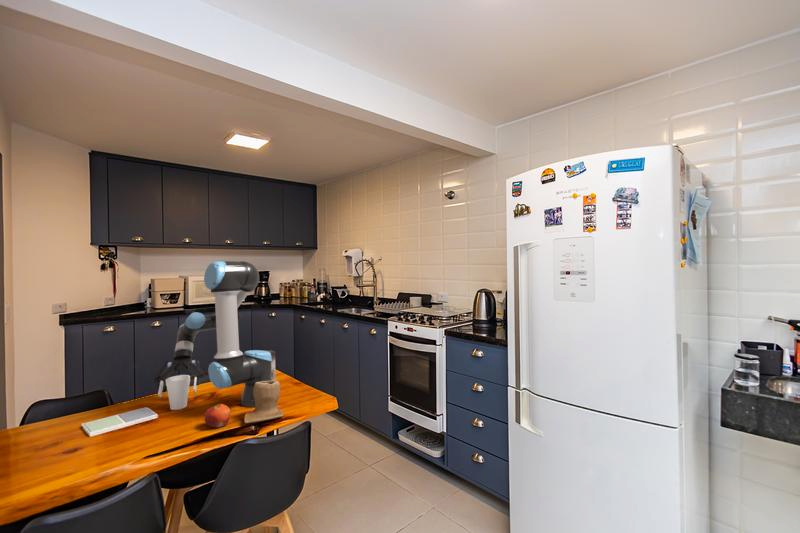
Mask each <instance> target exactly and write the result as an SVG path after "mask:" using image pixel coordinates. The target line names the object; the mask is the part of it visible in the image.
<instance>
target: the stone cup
mask: <svg viewBox="0 0 800 533" xmlns="http://www.w3.org/2000/svg"><path fill="white" fill-rule="evenodd" d="M280 394H281V383H280V382H279V381H278V380H275V381H261V382H256V383H255V385H254V389H253V395H254V400H255V407H254V410H253V411H250V412H247V413H245V415H244V419H243V420H244V424H252V423H253V424H254V423H258V422H259V423H260V422H264V421H269V420H274V419H278V418H281V417H283V416H284V411H283V410H282V409H281V408H278V401H279V398H280Z"/></svg>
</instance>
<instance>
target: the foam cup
mask: <svg viewBox="0 0 800 533" xmlns="http://www.w3.org/2000/svg"><path fill="white" fill-rule="evenodd" d="M190 382H191V376H190V375H189V374H179V375H174V376H169V377H168V378H167V379H165V386H166V391H167V396H168V402H169V408H170V410H172V411H176V410H177V411H178V410H182V409H185V408H186V407H188V399H189V393H190V392H189V391H190V384H191V383H190Z"/></svg>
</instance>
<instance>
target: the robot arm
mask: <svg viewBox="0 0 800 533" xmlns="http://www.w3.org/2000/svg"><path fill="white" fill-rule="evenodd" d="M203 281H204V284H205V288H207V289H208V290H210V294H211V295H212V296H213V297H214V303H215V304H214V306H215V308H214V309H215V312H214V313H212V314H203V313H202V312H197V311H196V312H195V311H194V312H192V313H190V314H189V315H188V316H187V318H186V319H185V322H184V323H183V324H181V325H180V326H179V327H178V330H177V337H176V344H175V348H174V354H173V359H172V361H171V362H170V361H169V362H168V360H166V361H165V362H164V364H163V367H161V369H160V370H159V371H158V372H157V373H156V375H155V376H154V378H153V382H154V383H157V385H156V389H157V390H158V392H157V396H158V397H159V398H161V397H162V395H163V394H162V393H163V390H164V389H163V388H164V382H165V381H166V379H167V378H170V377H171V375H172V374H173V373H175V372H181V371H186V370H187V371H188V372H190V374H192V375H193V376H194V381H193V387H192V388H193V393H194V394H195V393H197V388H198V387H197V386H200V383H201V379H203V378H206V376H205V372H204V370H203V369H202V367H201V365H200V362H199V358H195V359H194V360H193V359H192V358H193V351H194V343H195V338H196V336H197V335H198V334H199V332H203V331H211V330H216V346H217V347H216V348H217V349H216V350H217V352H216V354H214V356H213V362H210V364H209V365H208V369H207V370H208V371H207V372H208V377H209V380H210V383H211V384H212V385H213V386H214V387H215V388H217V389H220V390H222V389H228V388H231V387H234V386H238V385H241V384H244V387H243V389H242V390H243V391H242V394H241V397H240V404H241V406H243V407H247V408H248V407H249V408H252V407H253V408H255V400H254V395H253V389H254V385H255V383H256V382H261V381H272V371H271V361H272V360H271V354H270V352H268V351H269V350H258V349H253V350H245V351H244V353H243V351H241V350H240V341H239V340H240V338H239V317H238V308H239V307H240V306H241V305H242V303H243V302H244V300H245V299H246V298H247V296H248V295H249V293H252V292H254V291H255V289H256V288H257V286H258V284H259V282H260V273H259V270H258V269H257V267H256V266H255V265H254V264H253V263H251V262H249V261H245V260H243V261H235V260H233V261H232V260H230V261H228V260H223V261H222V260H220V261H213V262H211V263H209V264H208V266H207V267H206V269H205V271H204V276H203ZM192 365H194V366H195V367H196V368H197V371H196V369H194V368H193V367H192ZM168 368H169V369H168ZM198 372H199V373H198Z"/></svg>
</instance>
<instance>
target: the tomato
mask: <svg viewBox="0 0 800 533" xmlns="http://www.w3.org/2000/svg"><path fill="white" fill-rule="evenodd" d="M230 419H231V409H230V408H229V406H227V405H226V404H223V403H218V404H216V405H214V406H212V407H209V408H208V409H207V410H205V414H204V423H205V425H207V426H209V427H211V428H220V427H224V426H226V425H227V424H228V423H229V421H230Z"/></svg>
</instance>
